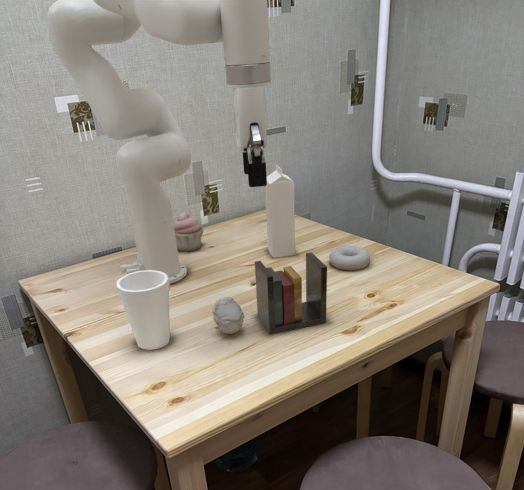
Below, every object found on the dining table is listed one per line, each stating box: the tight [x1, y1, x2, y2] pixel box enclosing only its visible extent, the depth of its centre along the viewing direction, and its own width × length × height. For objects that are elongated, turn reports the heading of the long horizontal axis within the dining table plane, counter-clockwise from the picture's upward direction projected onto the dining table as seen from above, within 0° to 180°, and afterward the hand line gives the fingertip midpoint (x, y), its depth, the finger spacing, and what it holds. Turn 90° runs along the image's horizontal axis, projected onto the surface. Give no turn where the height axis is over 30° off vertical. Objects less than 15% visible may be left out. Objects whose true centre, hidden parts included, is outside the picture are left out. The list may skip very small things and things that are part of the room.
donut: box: [328, 245, 371, 271], centre depth 129 cm, size 10×4×10 cm
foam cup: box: [115, 270, 171, 351], centre depth 99 cm, size 10×9×13 cm
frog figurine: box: [212, 296, 245, 335], centre depth 103 cm, size 6×7×7 cm
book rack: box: [254, 251, 328, 335], centre depth 104 cm, size 12×8×12 cm, turn 107°
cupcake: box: [173, 211, 205, 252], centre depth 142 cm, size 9×9×10 cm
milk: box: [264, 163, 296, 259], centre depth 133 cm, size 6×6×22 cm
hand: (255, 179), depth 97 cm, fingers open, 9 cm apart
